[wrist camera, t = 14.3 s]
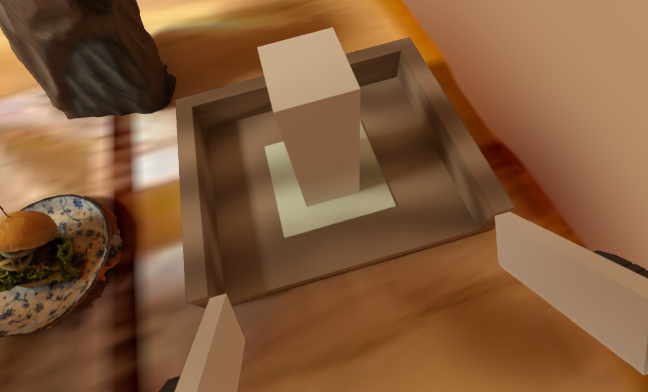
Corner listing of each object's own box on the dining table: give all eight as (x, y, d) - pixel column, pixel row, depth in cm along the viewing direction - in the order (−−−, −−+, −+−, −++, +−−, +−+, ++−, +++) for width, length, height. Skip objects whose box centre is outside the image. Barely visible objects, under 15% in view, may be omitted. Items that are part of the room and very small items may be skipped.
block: (359, 192, 25) (360, 88, 15) (306, 206, 25) (273, 112, 15) (341, 143, 27) (332, 27, 17) (293, 157, 27) (257, 47, 17)
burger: (-34, 272, 27) (-161, 246, 20) (84, 179, 30) (7, 131, 24) (22, 376, 23) (-116, 387, 16) (152, 254, 26) (82, 221, 19)
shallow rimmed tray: (490, 229, 24) (515, 207, 20) (213, 310, 23) (186, 302, 19) (403, 73, 32) (409, 36, 28) (197, 129, 31) (175, 99, 28)
